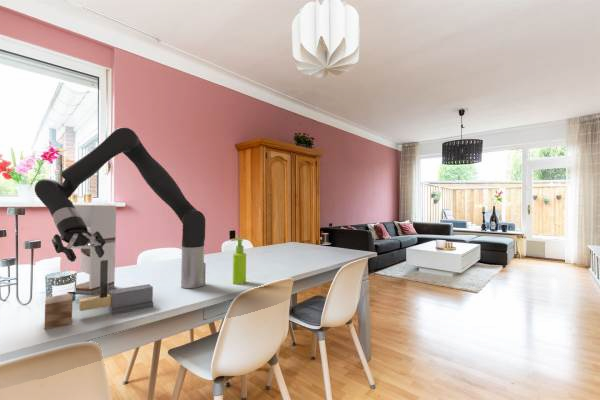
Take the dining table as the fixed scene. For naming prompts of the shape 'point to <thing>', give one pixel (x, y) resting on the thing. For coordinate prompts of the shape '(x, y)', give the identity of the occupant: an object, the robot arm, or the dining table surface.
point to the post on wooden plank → (104, 297)
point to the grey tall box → (105, 224)
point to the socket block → (58, 311)
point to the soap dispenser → (239, 263)
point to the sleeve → (131, 299)
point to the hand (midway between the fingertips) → (88, 257)
